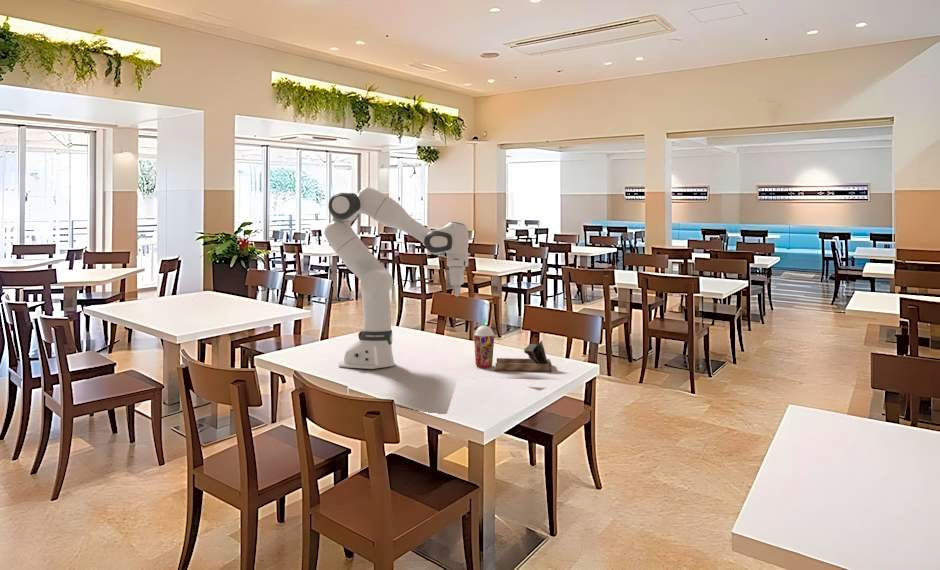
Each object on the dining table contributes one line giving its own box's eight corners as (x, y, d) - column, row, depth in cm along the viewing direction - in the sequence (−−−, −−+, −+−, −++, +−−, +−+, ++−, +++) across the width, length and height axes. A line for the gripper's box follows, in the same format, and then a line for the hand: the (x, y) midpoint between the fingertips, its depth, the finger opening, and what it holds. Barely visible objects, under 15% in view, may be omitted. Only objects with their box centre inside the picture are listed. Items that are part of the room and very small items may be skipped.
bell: (535, 367, 256) (534, 338, 256) (548, 368, 251) (547, 339, 251) (520, 370, 250) (518, 341, 249) (533, 372, 245) (532, 342, 244)
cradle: (495, 370, 245) (495, 363, 244) (496, 365, 259) (496, 358, 258) (551, 372, 243) (551, 364, 243) (549, 366, 257) (549, 359, 257)
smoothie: (492, 369, 247) (492, 320, 246) (471, 369, 249) (472, 319, 248) (495, 366, 255) (496, 318, 255) (475, 365, 257) (476, 317, 256)
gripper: (452, 262, 262) (452, 294, 262) (447, 262, 242) (446, 297, 242) (467, 262, 262) (467, 295, 262) (463, 262, 241) (463, 297, 242)
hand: (457, 296), depth 252 cm, fingers closed
